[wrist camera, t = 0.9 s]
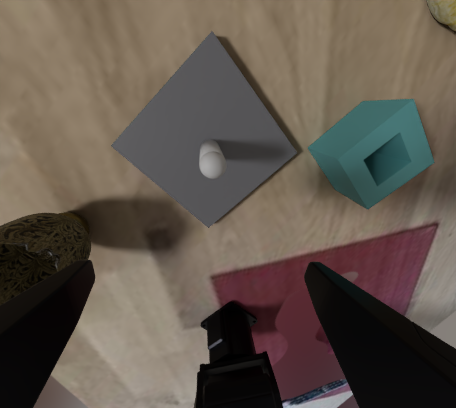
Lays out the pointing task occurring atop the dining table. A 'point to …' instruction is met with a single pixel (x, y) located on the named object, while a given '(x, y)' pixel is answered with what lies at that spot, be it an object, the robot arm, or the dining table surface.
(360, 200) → the teal block with hole
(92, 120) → the dining table surface
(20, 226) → the cup
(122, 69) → the dining table surface
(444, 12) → the bread roll
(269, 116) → the post stand
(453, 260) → the dining table surface
